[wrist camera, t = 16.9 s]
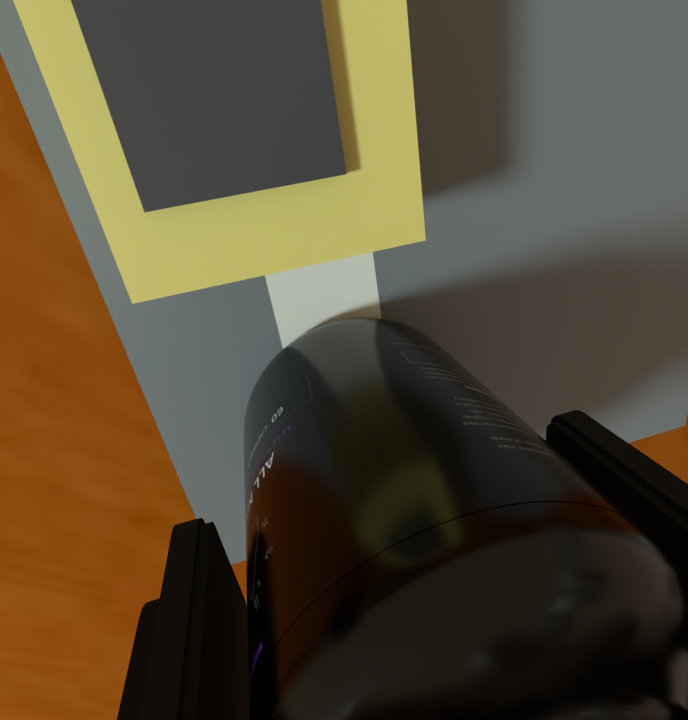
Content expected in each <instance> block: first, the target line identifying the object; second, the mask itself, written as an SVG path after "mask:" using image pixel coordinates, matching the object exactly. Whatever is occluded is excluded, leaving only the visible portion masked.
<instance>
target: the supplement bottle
mask: <svg viewBox="0 0 688 720" xmlns="http://www.w3.org/2000/svg"><path fill="white" fill-rule="evenodd" d="M244 482H245V528H246V573H247V619H248V664H249V708H250V720H688V580H687V578H686V577H685V575H684V574H683V572H682V571H681V569H680V568H679V566H678V565H677V564H676V562H675V561H674V560H673V558H672V557H671V556H670V555H669V554H668V553H667V552H666V551H665V550H664V549H663V548H662V547H661V546H660V545H659V544H658V543H657V542H656V541H655V540H654V539H653V538H652V537H651V536H650V535H649V534H648V533H647V532H646V531H645V530H644V529H643V528H642V527H641V526H640V525H639V524H638V523H637V522H635V521H634V520H633V519H632V518H631V517H630V516H629V515H628V514H627V513H626V512H625V511H623V510H622V509H621V508H620V507H619V506H618V505H617V504H616V503H614V502H613V501H612V500H611V499H610V498H609V497H608V496H607V495H606V494H604V493H603V492H602V491H601V490H600V489H599V488H598V487H597V486H596V485H594V484H593V483H592V482H591V481H590V480H589V479H588V478H587V477H586V476H584V475H583V474H582V473H581V472H580V471H579V470H578V469H577V468H576V467H574V466H573V465H572V464H571V463H570V462H569V461H568V460H567V459H566V458H564V457H563V456H562V455H561V454H560V453H559V452H558V451H557V450H555V449H554V448H553V447H552V446H551V445H550V444H549V443H548V442H547V441H545V440H544V439H543V438H542V437H541V436H540V435H539V434H538V433H537V432H535V431H534V430H533V429H532V428H531V427H530V426H529V425H528V424H526V423H525V422H524V421H523V420H522V419H521V418H520V417H519V416H518V415H516V414H515V413H514V412H513V411H512V410H511V409H510V408H509V407H508V406H506V405H505V404H504V403H503V402H502V401H501V400H500V399H499V398H498V397H496V396H495V395H494V394H493V393H492V392H491V391H490V390H489V389H487V388H486V387H485V386H484V385H483V384H482V383H481V382H480V381H479V380H477V379H476V378H475V377H474V376H473V375H472V374H471V373H470V372H469V371H467V370H466V369H465V368H464V367H463V366H462V365H461V364H460V363H458V362H457V361H456V360H455V359H454V358H453V357H452V356H451V355H450V354H448V353H447V352H446V351H445V350H443V349H442V348H441V347H440V346H439V345H438V344H436V343H435V342H434V341H433V340H431V339H430V338H429V337H427V336H426V335H424V334H423V333H421V332H419V331H418V330H416V329H414V328H412V327H410V326H407V325H405V324H402V323H399V322H396V321H391V320H387V319H379V318H352V319H345V320H340V321H336V322H332V323H329V324H325V325H323V326H320V327H318V328H315V329H313V330H311V331H309V332H307V333H305V334H303V335H302V336H300V337H299V338H297V339H295V340H294V341H293V342H291V343H290V344H289V345H287V346H286V347H285V348H284V349H283V350H282V351H280V352H279V353H278V354H277V355H276V356H275V357H274V358H273V360H272V361H271V362H270V363H269V364H268V365H267V367H266V368H265V370H264V371H263V372H262V374H261V375H260V377H259V379H258V380H257V382H256V384H255V386H254V388H253V390H252V393H251V395H250V398H249V401H248V405H247V409H246V414H245V423H244Z"/></svg>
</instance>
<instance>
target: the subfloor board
mask: <svg viewBox="0 0 688 720" xmlns="http://www.w3.org/2000/svg"><path fill="white" fill-rule="evenodd" d="M406 2H407V14H408V26H409V39H410V51H411V63H412V76H413V88H414V101H415V113H416V125H417V138H418V150H419V162H420V175H421V187H422V200H423V212H424V224H425V237H426V240H425V241H421V242H416V243H412V244H407V245H402V246H398V247H393V248H389V249H384V250H379V251H375V252H370V253H365V254H361V255H356V256H352V257H347V258H342V259H338V260H333V261H328V262H324V263H319V264H315V265H310V266H305V267H301V268H296V269H292V270H287V271H282V272H278V273H273V274H268V275H264V276H259V277H255V278H250V279H245V280H241V281H236V282H232V283H227V284H222V285H218V286H213V287H208V288H204V289H199V290H195V291H190V292H185V293H181V294H176V295H171V296H167V297H162V298H158V299H153V300H148V301H144V302H139V303H135V304H132V302H131V299H130V297H129V294H128V292H127V289H126V287H125V284H124V281H123V279H122V276H121V274H120V271H119V269H118V266H117V264H116V261H115V258H114V256H113V253H112V251H111V248H110V246H109V243H108V241H107V238H106V236H105V233H104V230H103V228H102V225H101V223H100V220H99V218H98V215H97V213H96V210H95V208H94V205H93V202H92V200H91V197H90V195H89V192H88V190H87V187H86V185H85V182H84V180H83V177H82V174H81V172H80V169H79V167H78V164H77V162H76V159H75V157H74V154H73V152H72V149H71V146H70V144H69V141H68V139H67V136H66V134H65V131H64V129H63V126H62V124H61V121H60V118H59V116H58V113H57V111H56V108H55V106H54V103H53V101H52V98H51V95H50V93H49V90H48V88H47V85H46V83H45V80H44V78H43V75H42V73H41V70H40V67H39V65H38V62H37V60H36V57H35V55H34V52H33V50H32V47H31V45H30V42H29V39H28V37H27V34H26V32H25V29H24V27H23V24H22V22H21V19H20V17H19V14H18V11H17V9H16V6H15V4H14V1H13V0H0V53H1V55H2V58H3V60H4V62H5V65H6V67H7V69H8V72H9V74H10V77H11V79H12V81H13V84H14V86H15V88H16V91H17V93H18V96H19V98H20V100H21V103H22V105H23V108H24V110H25V112H26V115H27V117H28V119H29V122H30V124H31V127H32V129H33V131H34V134H35V136H36V138H37V141H38V143H39V146H40V148H41V150H42V153H43V155H44V157H45V160H46V162H47V165H48V167H49V169H50V172H51V174H52V177H53V179H54V181H55V184H56V186H57V188H58V191H59V193H60V196H61V198H62V200H63V203H64V205H65V207H66V210H67V212H68V215H69V217H70V219H71V222H72V224H73V227H74V229H75V231H76V234H77V236H78V238H79V241H80V243H81V246H82V248H83V250H84V253H85V255H86V257H87V260H88V262H89V265H90V267H91V269H92V272H93V274H94V277H95V279H96V281H97V284H98V286H99V288H100V291H101V293H102V296H103V298H104V300H105V303H106V305H107V307H108V310H109V312H110V315H111V317H112V319H113V322H114V324H115V327H116V329H117V331H118V334H119V336H120V338H121V341H122V343H123V346H124V348H125V350H126V353H127V355H128V357H129V360H130V362H131V365H132V367H133V369H134V372H135V374H136V376H137V379H138V381H139V384H140V386H141V388H142V391H143V393H144V396H145V398H146V400H147V403H148V405H149V407H150V410H151V412H152V415H153V417H154V419H155V422H156V424H157V426H158V429H159V431H160V434H161V436H162V438H163V441H164V443H165V446H166V448H167V450H168V453H169V455H170V457H171V460H172V462H173V465H174V467H175V469H176V472H177V474H178V476H179V479H180V481H181V484H182V486H183V488H184V491H185V493H186V496H187V498H188V500H189V503H190V505H191V507H192V510H193V512H194V515H195V517H196V519H198V518H203V520H204V521H205V523H209V522H213V523H214V524H215V526H216V529H217V531H218V534H219V536H220V539H221V541H222V544H223V546H224V549H225V551H226V554H227V556H228V559H229V561H230V564H234V563H238V562H241V561H244V560H246V528H245V482H244V423H245V414H246V409H247V405H248V401H249V398H250V395H251V393H252V390H253V388H254V386H255V384H256V382H257V380H258V379H259V377H260V375H261V374H262V372H263V371H264V370H265V368H266V367H267V365H268V364H269V363H270V362H271V361H272V360H273V358H274V357H275V356H276V355H277V354H278V353H279V352H280V351H282V350H283V349H284V348H285V347H286V346H287V345H289V344H290V343H291V342H293V341H294V340H295V339H297V338H299V337H300V336H302V335H303V334H305V333H307V332H309V331H311V330H313V329H315V328H318V327H320V326H323V325H325V324H329V323H332V322H336V321H340V320H345V319H352V318H379V319H387V320H391V321H396V322H399V323H402V324H405V325H407V326H410V327H412V328H414V329H416V330H418V331H419V332H421V333H423V334H424V335H426V336H427V337H429V338H430V339H431V340H433V341H434V342H435V343H436V344H438V345H439V346H440V347H441V348H442V349H443V350H445V351H446V352H447V353H448V354H450V355H451V356H452V357H453V358H454V359H455V360H456V361H457V362H458V363H460V364H461V365H462V366H463V367H464V368H465V369H466V370H467V371H469V372H470V373H471V374H472V375H473V376H474V377H475V378H476V379H477V380H479V381H480V382H481V383H482V384H483V385H484V386H485V387H486V388H487V389H489V390H490V391H491V392H492V393H493V394H494V395H495V396H496V397H498V398H499V399H500V400H501V401H502V402H503V403H504V404H505V405H506V406H508V407H509V408H510V409H511V410H512V411H513V412H514V413H515V414H516V415H518V416H519V417H520V418H521V419H522V420H523V421H524V422H525V423H526V424H528V425H529V426H530V427H531V428H532V429H533V430H534V431H535V432H537V433H538V434H539V435H540V436H541V437H542V438H543V439H544V440H545V441H546V428H547V426H548V424H551V419H552V418H553V417H554V416H556V415H560V414H563V413H567V412H570V411H574V410H580V411H582V412H584V413H585V414H587V415H588V416H590V417H591V418H592V419H594V420H595V421H597V422H598V423H600V424H601V425H603V426H604V427H606V428H607V429H608V430H610V431H611V432H613V433H614V434H616V435H617V436H619V437H620V438H621V439H623V440H624V441H626V442H627V443H630V442H633V441H636V440H640V439H643V438H646V437H649V436H653V435H656V434H659V433H662V432H666V431H669V430H672V429H675V428H679V427H682V426H685V424H686V419H687V414H688V0H406Z"/></svg>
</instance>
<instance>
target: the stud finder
mask: <svg viewBox="0 0 688 720" xmlns="http://www.w3.org/2000/svg"><path fill="white" fill-rule="evenodd" d="M13 1H14V4H15V6H16V9H17V11H18V14H19V17H20V19H21V22H22V24H23V27H24V29H25V32H26V34H27V37H28V39H29V42H30V45H31V47H32V50H33V52H34V55H35V57H36V60H37V62H38V65H39V67H40V70H41V73H42V75H43V78H44V80H45V83H46V85H47V88H48V90H49V93H50V95H51V98H52V101H53V103H54V106H55V108H56V111H57V113H58V116H59V118H60V121H61V124H62V126H63V129H64V131H65V134H66V136H67V139H68V141H69V144H70V146H71V149H72V152H73V154H74V157H75V159H76V162H77V164H78V167H79V169H80V172H81V174H82V177H83V180H84V182H85V185H86V187H87V190H88V192H89V195H90V197H91V200H92V202H93V205H94V208H95V210H96V213H97V215H98V218H99V220H100V223H101V225H102V228H103V230H104V233H105V236H106V238H107V241H108V243H109V246H110V248H111V251H112V253H113V256H114V258H115V261H116V264H117V266H118V269H119V271H120V274H121V276H122V279H123V281H124V284H125V287H126V289H127V292H128V294H129V297H130V299H131V302H132V304H135V303H139V302H144V301H148V300H153V299H158V298H162V297H167V296H171V295H176V294H181V293H185V292H190V291H195V290H199V289H204V288H208V287H213V286H218V285H222V284H227V283H232V282H236V281H241V280H245V279H250V278H255V277H259V276H264V275H268V274H273V273H278V272H282V271H287V270H292V269H296V268H301V267H305V266H310V265H315V264H319V263H324V262H328V261H333V260H338V259H342V258H347V257H352V256H356V255H361V254H365V253H370V252H375V251H379V250H384V249H389V248H393V247H398V246H402V245H407V244H412V243H416V242H421V241H425V240H426V237H425V224H424V212H423V200H422V187H421V175H420V162H419V150H418V138H417V125H416V113H415V101H414V88H413V76H412V63H411V51H410V39H409V26H408V14H407V2H406V0H13Z"/></svg>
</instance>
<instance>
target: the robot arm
mask: <svg viewBox="0 0 688 720" xmlns="http://www.w3.org/2000/svg"><path fill="white" fill-rule="evenodd" d="M546 441H547V442H548V443H549V444H550V445H551V446H552V447H553V448H554V449H555V450H557V451H558V452H559V453H560V454H561V455H562V456H563V457H564V458H566V459H567V460H568V461H569V462H570V463H571V464H572V465H573V466H574V467H576V468H577V469H578V470H579V471H580V472H581V473H582V474H583V475H584V476H586V477H587V478H588V479H589V480H590V481H591V482H592V483H593V484H594V485H596V486H597V487H598V488H599V489H600V490H601V491H602V492H603V493H604V494H606V495H607V496H608V497H609V498H610V499H611V500H612V501H613V502H614V503H616V504H617V505H618V506H619V507H620V508H621V509H622V510H623V511H625V512H626V513H627V514H628V515H629V516H630V517H631V518H632V519H633V520H634V521H635V522H637V523H638V524H639V525H640V526H641V527H642V528H643V529H644V530H645V531H646V532H647V533H648V534H649V535H650V536H651V537H652V538H653V539H654V540H655V541H656V542H657V543H658V544H659V545H660V546H661V547H662V548H663V549H664V550H665V551H666V552H667V553H668V554H669V555H670V556H671V557H672V558H673V560H674V561H675V562H676V564H677V565H678V566H679V568H680V569H681V571H682V572H683V574H684V575H685V577H686V578H687V580H688V484H687V483H685V482H684V481H682V480H681V479H679V478H678V477H676V476H675V475H674V474H672V473H671V472H669V471H668V470H666V469H665V468H663V467H662V466H661V465H659V464H658V463H656V462H655V461H653V460H652V459H650V458H649V457H648V456H646V455H645V454H643V453H642V452H640V451H639V450H637V449H636V448H634V447H633V446H632V445H630V444H629V443H627V442H626V441H624V440H623V439H621V438H620V437H619V436H617V435H616V434H614V433H613V432H611V431H610V430H608V429H607V428H606V427H604V426H603V425H601V424H600V423H598V422H597V421H595V420H594V419H592V418H591V417H590V416H588V415H587V414H585V413H584V412H582V411H580V410H574V411H570V412H567V413H563V414H560V415H556V416H554V417H553V418H552V419H551V424H548V426H547V428H546ZM117 720H250V708H249V664H248V619H247V605H246V602H245V599H244V596H243V594H242V591H241V589H240V586H239V584H238V581H237V579H236V576H235V574H234V571H233V569H232V566H231V564H230V561H229V559H228V556H227V554H226V551H225V549H224V546H223V544H222V541H221V539H220V536H219V534H218V531H217V529H216V526H215V524H214V523H213V522H209V523H205V521H204V520H203V518H198V519H194V520H191V521H187V522H184V523H180V524H177V525H175V526H174V527H173V530H172V534H171V540H170V545H169V551H168V556H167V562H166V568H165V573H164V579H163V584H162V590H161V595H160V598H159V599H156V600H153V601H150V602H147V603H145V605H144V606H143V608H142V611H141V614H140V617H139V622H138V626H137V631H136V635H135V640H134V644H133V649H132V654H131V658H130V663H129V667H128V672H127V676H126V681H125V685H124V690H123V695H122V699H121V704H120V708H119V713H118V717H117Z"/></svg>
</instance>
